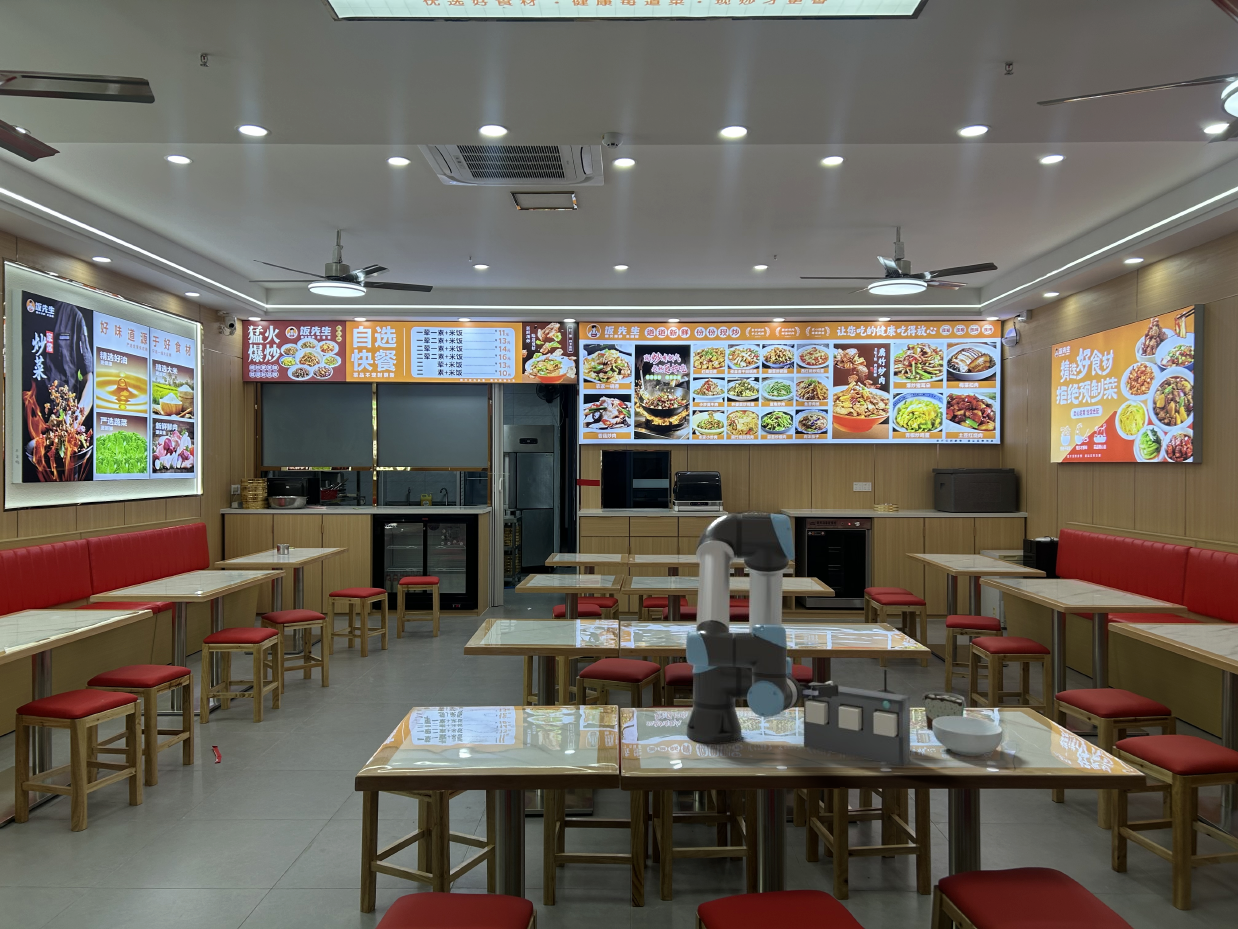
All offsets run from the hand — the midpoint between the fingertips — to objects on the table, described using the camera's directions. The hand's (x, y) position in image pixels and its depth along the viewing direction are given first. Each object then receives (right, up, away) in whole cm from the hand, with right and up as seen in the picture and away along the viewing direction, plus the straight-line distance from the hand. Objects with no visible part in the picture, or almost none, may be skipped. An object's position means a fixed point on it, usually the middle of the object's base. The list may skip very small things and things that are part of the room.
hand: (804, 684), depth 209 cm
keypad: (+15, -19, +6) cm, 25 cm away
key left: (+5, -12, +9) cm, 16 cm away
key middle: (+13, -12, +4) cm, 18 cm away
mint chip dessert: (+47, -21, +28) cm, 59 cm away
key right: (+20, -12, -2) cm, 23 cm away
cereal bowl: (+45, -20, +9) cm, 50 cm away
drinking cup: (+25, -20, +13) cm, 35 cm away
